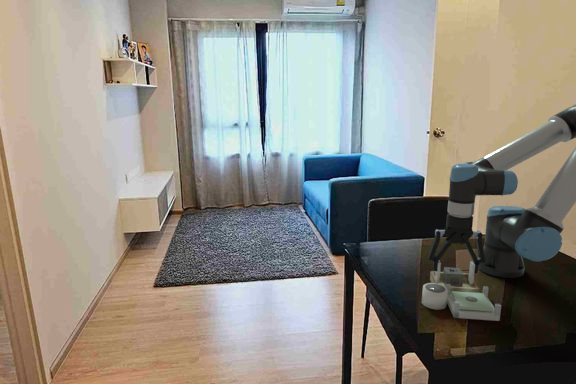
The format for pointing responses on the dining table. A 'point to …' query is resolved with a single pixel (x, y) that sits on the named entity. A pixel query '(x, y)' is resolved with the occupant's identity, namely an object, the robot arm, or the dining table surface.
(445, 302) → the cup
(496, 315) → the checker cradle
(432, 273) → the trough
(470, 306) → the plate
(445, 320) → the dining table surface
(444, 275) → the dice cube
